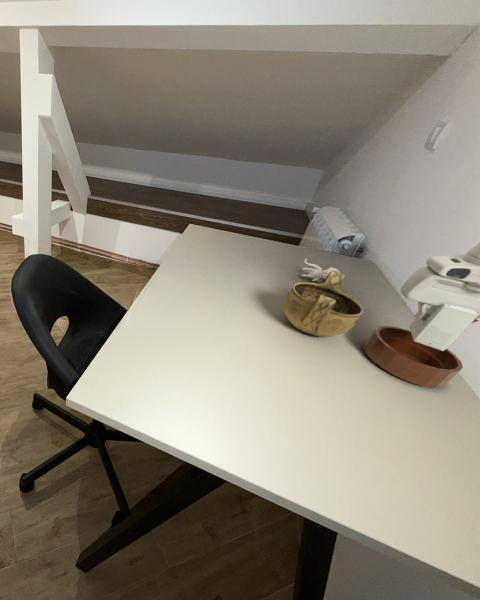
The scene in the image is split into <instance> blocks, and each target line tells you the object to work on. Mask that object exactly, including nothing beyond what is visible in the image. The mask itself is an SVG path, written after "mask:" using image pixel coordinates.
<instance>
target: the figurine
mask: <svg viewBox="0 0 480 600" xmlns="http://www.w3.org/2000/svg"><path fill="white" fill-rule="evenodd" d="M307 260H308V258H305V259H304V261H303V262H304V264H305V265H307V266H311V267H313V268H310V267H309V268H308V267H302V269H301V270H303V271H307V272H308V274H301V275H300V277H301V278H307V279H309V278H311V279H312V280H311V282H317V281H318V280H319V279H320V278H322V279H324V280H325V279H326V278H327V276H328V275H329V273H330V272H331V271H336V272H339V273H341V271H340V270H339V269H338V268H335V267H328V268H327V269H322V267H321V266H320V265H318V264H316V263H309V262H307Z"/></svg>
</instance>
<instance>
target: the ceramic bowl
mask: <svg viewBox="0 0 480 600" xmlns="http://www.w3.org/2000/svg"><path fill="white" fill-rule="evenodd" d="M339 272H340V271H339ZM339 272H336V271H331V272H330V273H329V275H328V276H327V278H326V279H324V281H323V282H322V283H314V282H306V281H305V282H303V281H299V282H296V283H294V284H293V285H292V287H291V288H290V289H289V292H288V293H287V295H286V297H285V300H284V305H283V310H284V314H285V316H286V319H287V320H288V322H290V324H291V325H292V326H294V327H295V328H296V329H297V330H300V331H301V332H304V333H305V334H308V335H311V336H315V337H324V338H326V337H327V338H328V337H329V338H330V337H336V336H337V337H338V336H340V335H343V334H345V333H347V332H348V331H350V330H351V329H352V328H353V327H354V326H355V325H356V324H357V323H358V322H359V320H360V318H361V316H362V315H363V313H364V308H363V306H362V304H360V303H359V302H358V301H357V300H356V299H354V298H353V297H351V296H350V295H349V294H346V293H344V292H342V291H341V290H340V287H341V284H342V282H343V280H344V278H345V276H346V274H344V273H341V272H340V273H339Z"/></svg>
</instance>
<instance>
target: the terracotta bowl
mask: <svg viewBox="0 0 480 600" xmlns="http://www.w3.org/2000/svg"><path fill="white" fill-rule="evenodd" d="M362 349H363V351H364V353H365V355H366V356H367V357H368V358H369V359H370V360H371V361H372V362H373V363H374V364H375V365H377V366H379V367H380V368H381V369H383V370H384V371H386V372H388V373H389V374H391V375H393V376H395V377H397V378H399V379H402V380H403V381H406V382H408V383H411V384H415V385H417V386H420V387H426V388H431V389H437V388H443V387H444V386H445V385H446V384H447V383H449V381H451V380H452V379H453V378H454V377H455V376H456V375H457V374H459V372H461V371H462V369H463V368H464V366H463V363H462V361H461V360H460V358H459V357H458V356H457V355H456V354H455V353H453V352H452V351H451V350H449V349H448V347H447V348H446V349H445V350H444V351H441V350H438V349H436V348H433V347H430V346H427V345H424V344H421V343H418V342H415V341H413V337H412V334H411V331H410V329H405V328H402V327H397V326H390V325H382V326H381V325H380V326H378V327H377V328H375V329H374V331H372V333H371V334H370V335H369V337H368V338H367V339H366V341H365V342H364V343H363V348H362Z"/></svg>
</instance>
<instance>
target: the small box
mask: <svg viewBox="0 0 480 600" xmlns="http://www.w3.org/2000/svg"><path fill="white" fill-rule="evenodd" d="M426 312H427V314H429V315H430V316H429V317H428V318H427V319H426V320H425V321H423V320H419V319H416V318H415V319H413V321H412V322H411V323H410V325H408V328H409V331H411V334H412V337H413V341H415V342H418V343H421V344H424V345H427V346H430V347H433V348H436V349H438V350H441V351H444V350H445V349H446V348H447V349H448V347H450V345H452V343H453V342H455V340H456V339H457V338H458V337H460V335H461V334H463V332H465V331H464V330H465V329H466V328H467V327H468V326H469V325H470V324H471V323H472V322H473V321H474V320H475V319H476V318H477V317H478V314H477V313H476V312H475V310H472V309H468V308H463V307H459V306H454V305H449V304H442V305H441V306H440V307H439V306H435V305H432V306H431V307H430V308H426Z"/></svg>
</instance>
